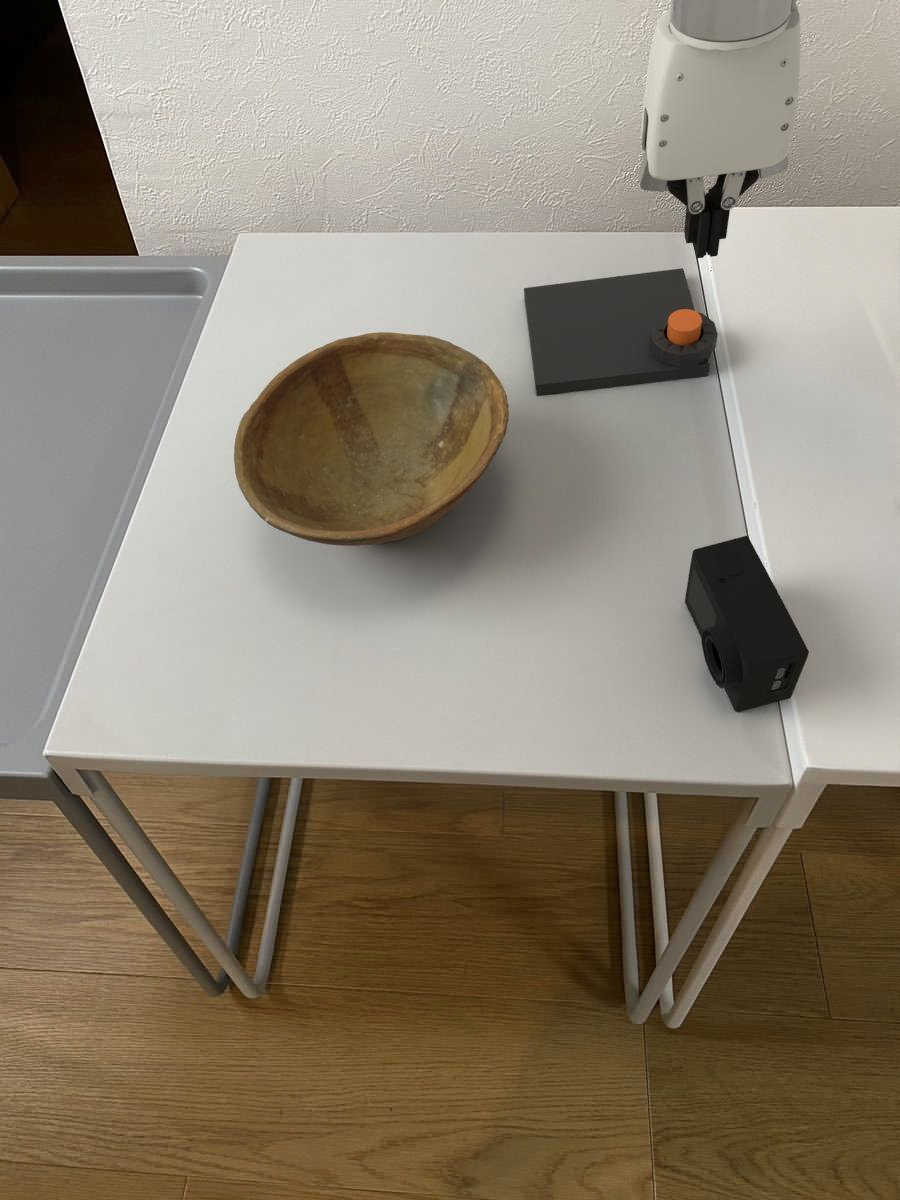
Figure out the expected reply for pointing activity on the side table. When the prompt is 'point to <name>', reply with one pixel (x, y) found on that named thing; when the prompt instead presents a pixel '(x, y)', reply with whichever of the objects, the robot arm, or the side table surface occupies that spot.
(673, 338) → the button
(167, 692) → the side table surface
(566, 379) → the scale
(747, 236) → the side table surface
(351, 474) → the bowl
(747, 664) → the digital camera
